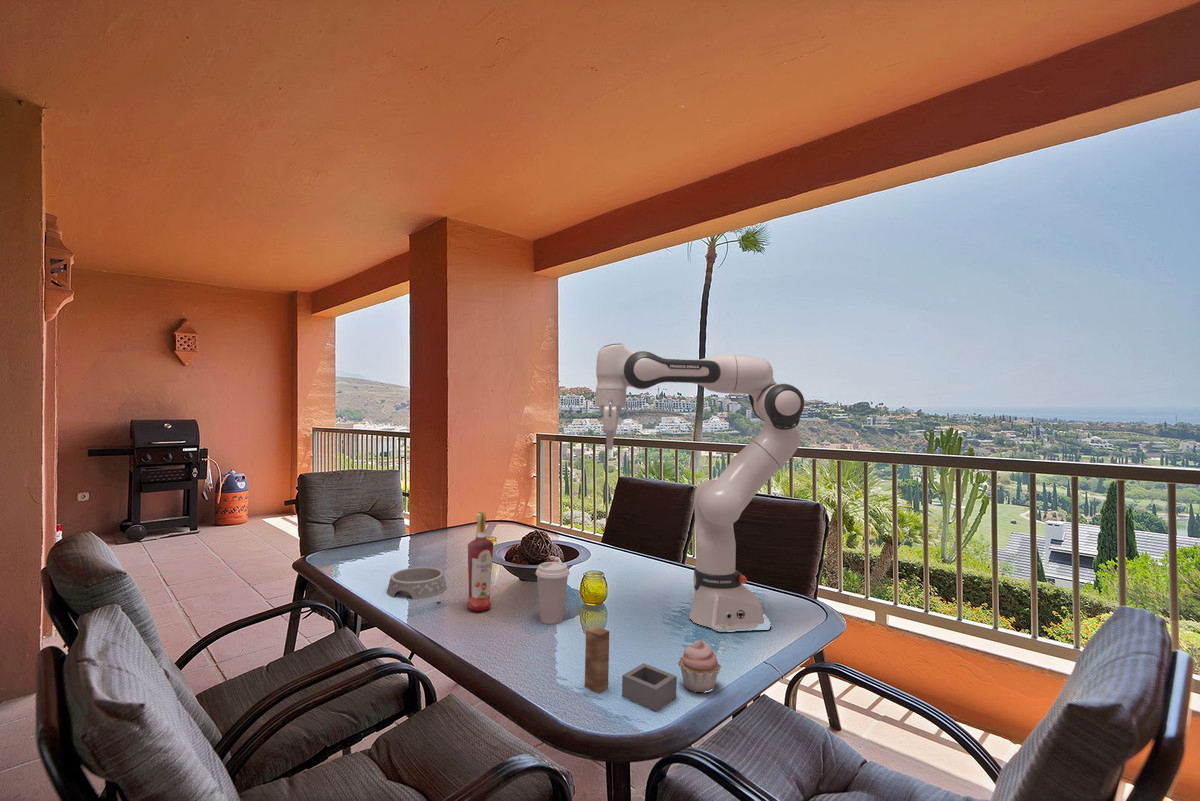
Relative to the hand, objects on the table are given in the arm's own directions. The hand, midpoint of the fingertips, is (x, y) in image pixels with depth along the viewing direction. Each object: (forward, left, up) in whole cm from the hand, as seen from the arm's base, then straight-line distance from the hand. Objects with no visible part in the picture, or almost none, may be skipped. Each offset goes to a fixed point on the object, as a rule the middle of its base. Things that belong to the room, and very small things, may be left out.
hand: (609, 448), depth 156 cm
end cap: (-10, +43, -48) cm, 65 cm away
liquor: (+37, -2, -48) cm, 61 cm away
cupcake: (-21, +38, -48) cm, 65 cm away
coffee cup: (+15, +4, -48) cm, 51 cm away
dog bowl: (+61, -17, -48) cm, 80 cm away
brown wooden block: (+1, +40, -48) cm, 62 cm away
